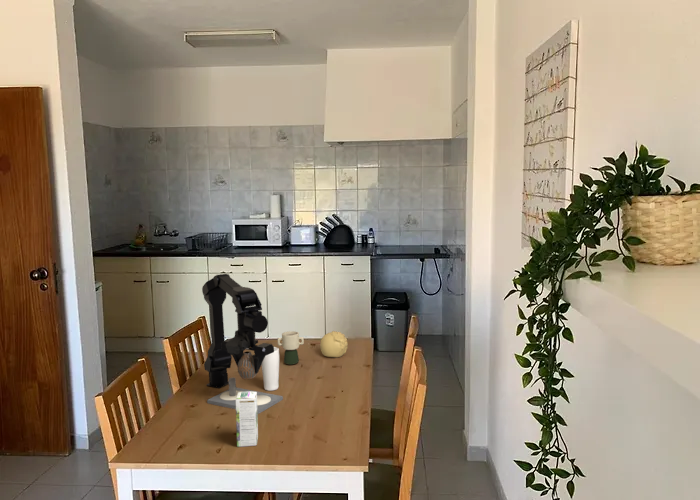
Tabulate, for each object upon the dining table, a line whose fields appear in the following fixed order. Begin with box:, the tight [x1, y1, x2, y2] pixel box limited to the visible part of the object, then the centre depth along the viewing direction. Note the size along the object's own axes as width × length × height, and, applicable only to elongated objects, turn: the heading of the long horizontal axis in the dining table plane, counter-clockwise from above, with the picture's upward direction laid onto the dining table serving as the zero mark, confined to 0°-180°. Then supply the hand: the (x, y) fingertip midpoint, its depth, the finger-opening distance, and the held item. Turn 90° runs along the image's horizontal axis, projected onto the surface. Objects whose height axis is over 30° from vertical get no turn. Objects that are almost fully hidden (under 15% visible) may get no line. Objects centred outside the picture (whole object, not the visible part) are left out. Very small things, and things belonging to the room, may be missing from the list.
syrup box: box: [235, 391, 259, 448], centre depth 167 cm, size 6×6×14 cm
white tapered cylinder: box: [261, 346, 280, 392], centre depth 211 cm, size 7×7×15 cm
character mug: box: [277, 330, 305, 365], centre depth 240 cm, size 11×7×13 cm, turn 95°
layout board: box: [206, 377, 284, 415], centre depth 200 cm, size 22×14×7 cm, turn 62°
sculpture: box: [319, 330, 349, 358], centre depth 250 cm, size 12×12×11 cm
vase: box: [237, 350, 258, 380], centre depth 195 cm, size 7×7×9 cm
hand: (248, 371), depth 195 cm, fingers closed on vase, 7 cm apart
